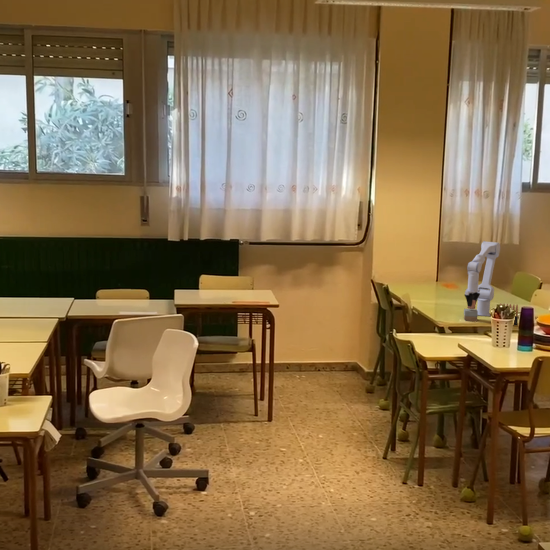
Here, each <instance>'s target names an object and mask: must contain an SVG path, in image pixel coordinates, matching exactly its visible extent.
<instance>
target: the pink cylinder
mask: <svg viewBox="0 0 550 550" xmlns="http://www.w3.org/2000/svg"><path fill="white" fill-rule="evenodd" d="M476 305H477V302H476V301H475V300H473V302H472V306H471V307H470V306H468V305H467V308H466V309H476Z"/></svg>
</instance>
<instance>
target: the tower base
mask: <svg viewBox="0 0 550 550" xmlns="http://www.w3.org/2000/svg"><path fill="white" fill-rule="evenodd" d="M464 320H466V321H465V322H473V321H476V322H478V316H477V317H470V316H465V315H464V314H463V321H464ZM476 322H475V323H476Z"/></svg>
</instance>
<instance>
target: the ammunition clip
mask: <svg viewBox="0 0 550 550" xmlns="http://www.w3.org/2000/svg"><path fill="white" fill-rule="evenodd" d="M500 305H502V306H503V305H505V306H508V307H510V308H511V310H514V311H515V312H516V316H515V320H514V325H513V326H518V325H519V324H518V323H519V321H518V317H519V304H516V305H515V304H513V305H512V303H510V304H509V303H507V304H505V303H503V304H502V303H500ZM500 305H499V306H500Z"/></svg>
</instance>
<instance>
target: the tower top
mask: <svg viewBox="0 0 550 550" xmlns="http://www.w3.org/2000/svg"><path fill="white" fill-rule="evenodd" d="M464 315H465V316H470V317H477V318H478V316H479V315H478V311H477V308H475V309H469V308H464V309H463V316H464Z"/></svg>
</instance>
